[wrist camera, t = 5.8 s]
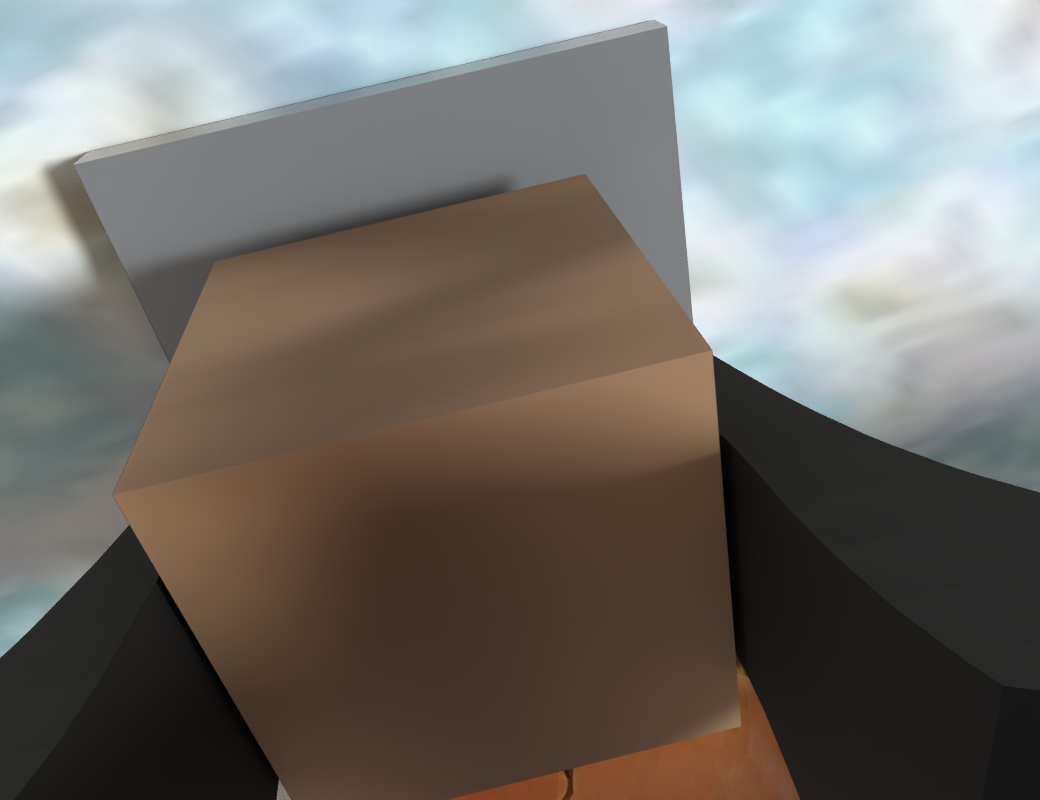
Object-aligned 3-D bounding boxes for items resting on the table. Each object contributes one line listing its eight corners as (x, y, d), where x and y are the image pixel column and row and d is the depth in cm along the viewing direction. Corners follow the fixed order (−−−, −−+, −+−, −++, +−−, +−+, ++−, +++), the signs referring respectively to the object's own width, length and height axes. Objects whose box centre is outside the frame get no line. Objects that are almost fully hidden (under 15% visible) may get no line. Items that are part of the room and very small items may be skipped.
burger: (672, 829, 23) (733, 1029, 19) (318, 830, 20) (303, 1056, 16) (813, 550, 18) (935, 739, 14) (371, 513, 16) (368, 723, 12)
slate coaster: (654, 20, 12) (666, 26, 11) (697, 469, 16) (707, 488, 15) (87, 152, 11) (73, 164, 11) (284, 569, 16) (281, 593, 15)
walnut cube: (585, 173, 11) (712, 349, 7) (629, 468, 14) (741, 726, 10) (215, 261, 11) (113, 494, 7) (332, 541, 14) (311, 833, 9)
